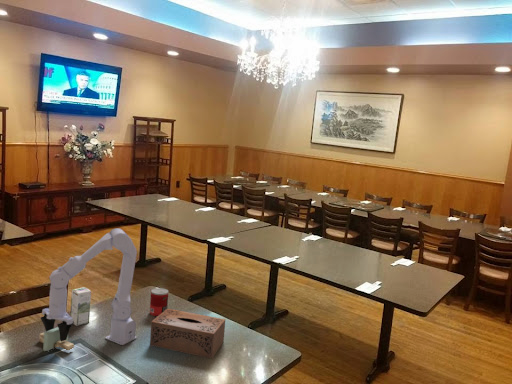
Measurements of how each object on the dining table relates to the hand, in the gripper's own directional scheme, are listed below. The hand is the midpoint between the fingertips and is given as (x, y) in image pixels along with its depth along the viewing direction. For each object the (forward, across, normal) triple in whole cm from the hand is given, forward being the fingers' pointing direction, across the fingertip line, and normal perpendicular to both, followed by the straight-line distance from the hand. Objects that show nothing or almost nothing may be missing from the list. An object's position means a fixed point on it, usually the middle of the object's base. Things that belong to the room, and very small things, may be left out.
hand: (56, 337), depth 157 cm
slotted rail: (+4, 0, 0) cm, 4 cm away
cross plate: (+4, 0, 0) cm, 4 cm away
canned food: (+4, +9, +47) cm, 48 cm away
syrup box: (+4, -10, +19) cm, 22 cm away
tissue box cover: (+4, +37, +32) cm, 49 cm away
